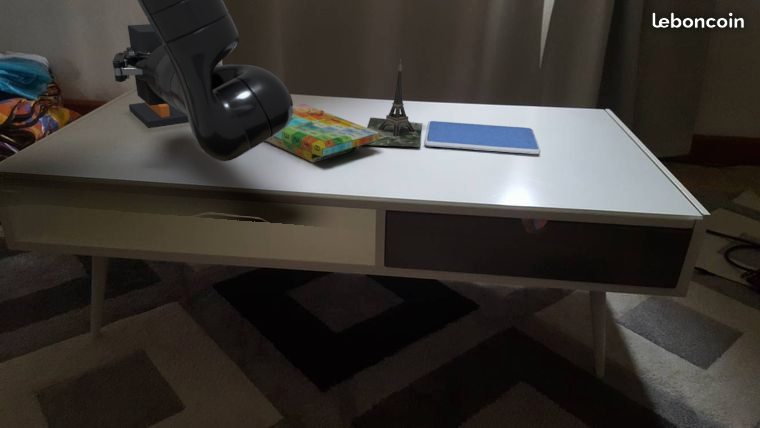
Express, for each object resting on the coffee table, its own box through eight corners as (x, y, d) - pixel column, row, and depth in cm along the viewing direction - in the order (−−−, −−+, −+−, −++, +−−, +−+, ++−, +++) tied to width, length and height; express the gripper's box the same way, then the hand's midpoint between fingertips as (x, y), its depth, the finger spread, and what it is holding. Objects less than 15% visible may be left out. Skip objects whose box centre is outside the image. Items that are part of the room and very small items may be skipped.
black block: (149, 105, 80) (139, 32, 76) (137, 95, 84) (127, 25, 80) (178, 102, 82) (170, 30, 78) (165, 92, 87) (156, 23, 82)
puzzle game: (301, 99, 103) (379, 127, 90) (302, 124, 105) (378, 155, 92) (245, 110, 95) (322, 143, 83) (247, 137, 97) (322, 173, 85)
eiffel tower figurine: (369, 120, 109) (371, 48, 103) (422, 123, 108) (427, 51, 102) (361, 146, 96) (363, 66, 90) (421, 150, 95) (428, 70, 89)
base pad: (148, 128, 100) (145, 110, 98) (129, 110, 108) (126, 93, 107) (224, 116, 107) (223, 100, 106) (201, 101, 116) (200, 85, 114)
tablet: (423, 148, 96) (424, 140, 95) (427, 125, 107) (428, 118, 107) (540, 158, 94) (541, 150, 94) (531, 134, 105) (533, 127, 105)
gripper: (239, 44, 73) (191, 24, 85) (121, 52, 65) (88, 29, 77) (242, 102, 76) (196, 74, 88) (131, 116, 68) (97, 84, 81)
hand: (146, 53), depth 83 cm, fingers closed on black block, 4 cm apart
